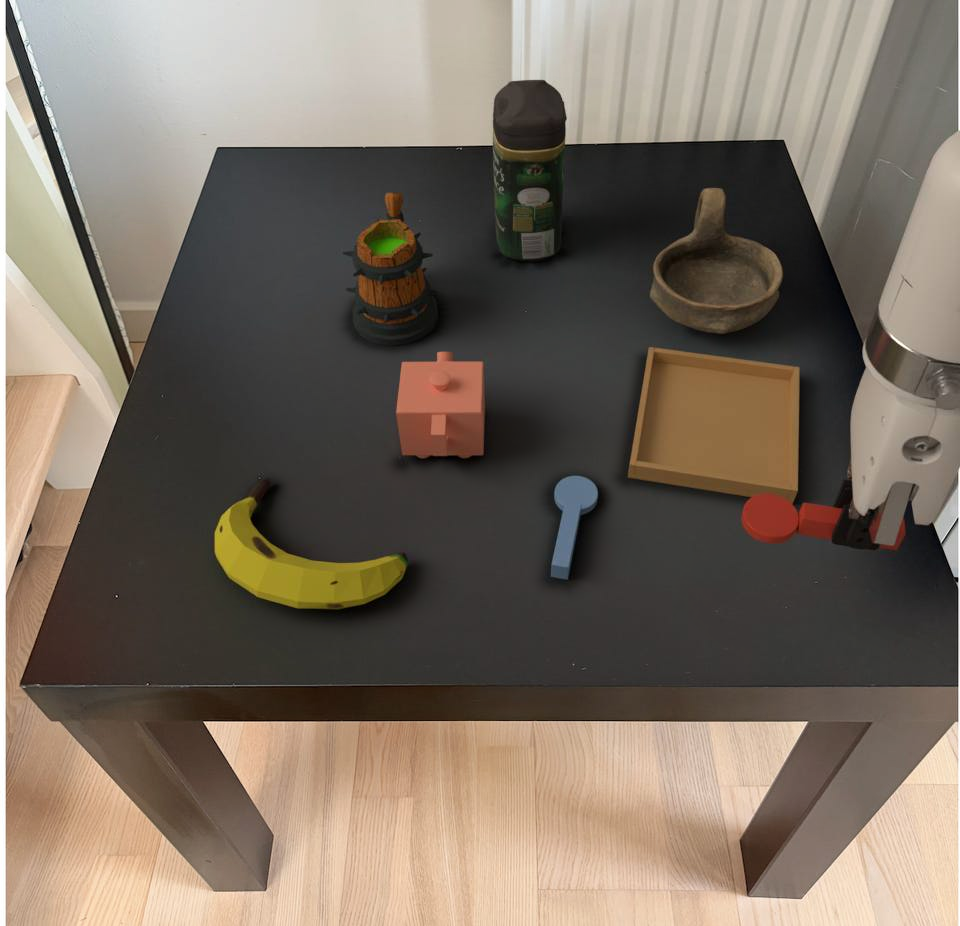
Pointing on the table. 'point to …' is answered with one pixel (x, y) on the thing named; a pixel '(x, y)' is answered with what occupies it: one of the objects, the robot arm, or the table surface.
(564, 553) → the blue paddle
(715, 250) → the bowl
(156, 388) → the table surface
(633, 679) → the table surface
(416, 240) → the mug
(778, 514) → the red spoon
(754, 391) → the tray
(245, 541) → the banana
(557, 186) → the coffee jar
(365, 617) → the table surface
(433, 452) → the pink cube teapot
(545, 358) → the table surface
